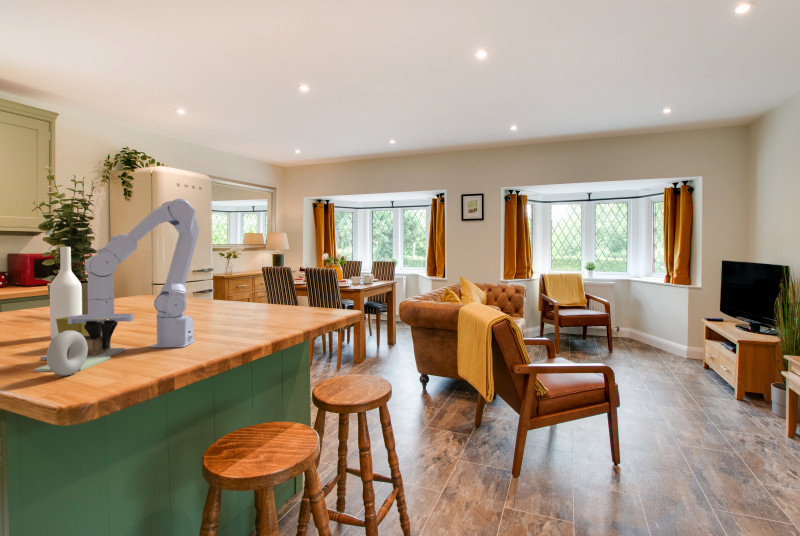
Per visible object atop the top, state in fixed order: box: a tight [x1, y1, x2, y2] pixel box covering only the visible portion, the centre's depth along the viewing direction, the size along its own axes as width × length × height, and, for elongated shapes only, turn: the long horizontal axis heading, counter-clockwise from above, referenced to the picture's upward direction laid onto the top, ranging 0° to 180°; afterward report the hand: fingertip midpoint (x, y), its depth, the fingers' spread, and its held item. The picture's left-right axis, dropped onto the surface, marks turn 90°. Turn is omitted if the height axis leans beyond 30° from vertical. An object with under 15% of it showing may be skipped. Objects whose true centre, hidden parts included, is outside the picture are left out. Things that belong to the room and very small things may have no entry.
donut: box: [46, 331, 88, 377], centre depth 90 cm, size 10×4×10 cm, turn 5°
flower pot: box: [56, 313, 108, 335], centre depth 119 cm, size 9×9×9 cm
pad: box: [33, 356, 111, 373], centre depth 98 cm, size 10×11×1 cm
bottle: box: [49, 246, 83, 340], centre depth 132 cm, size 8×8×30 cm
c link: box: [67, 335, 112, 357], centre depth 108 cm, size 8×9×4 cm
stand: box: [39, 347, 125, 361], centre depth 108 cm, size 15×10×4 cm, turn 95°
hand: (101, 348), depth 109 cm, fingers closed on c link
